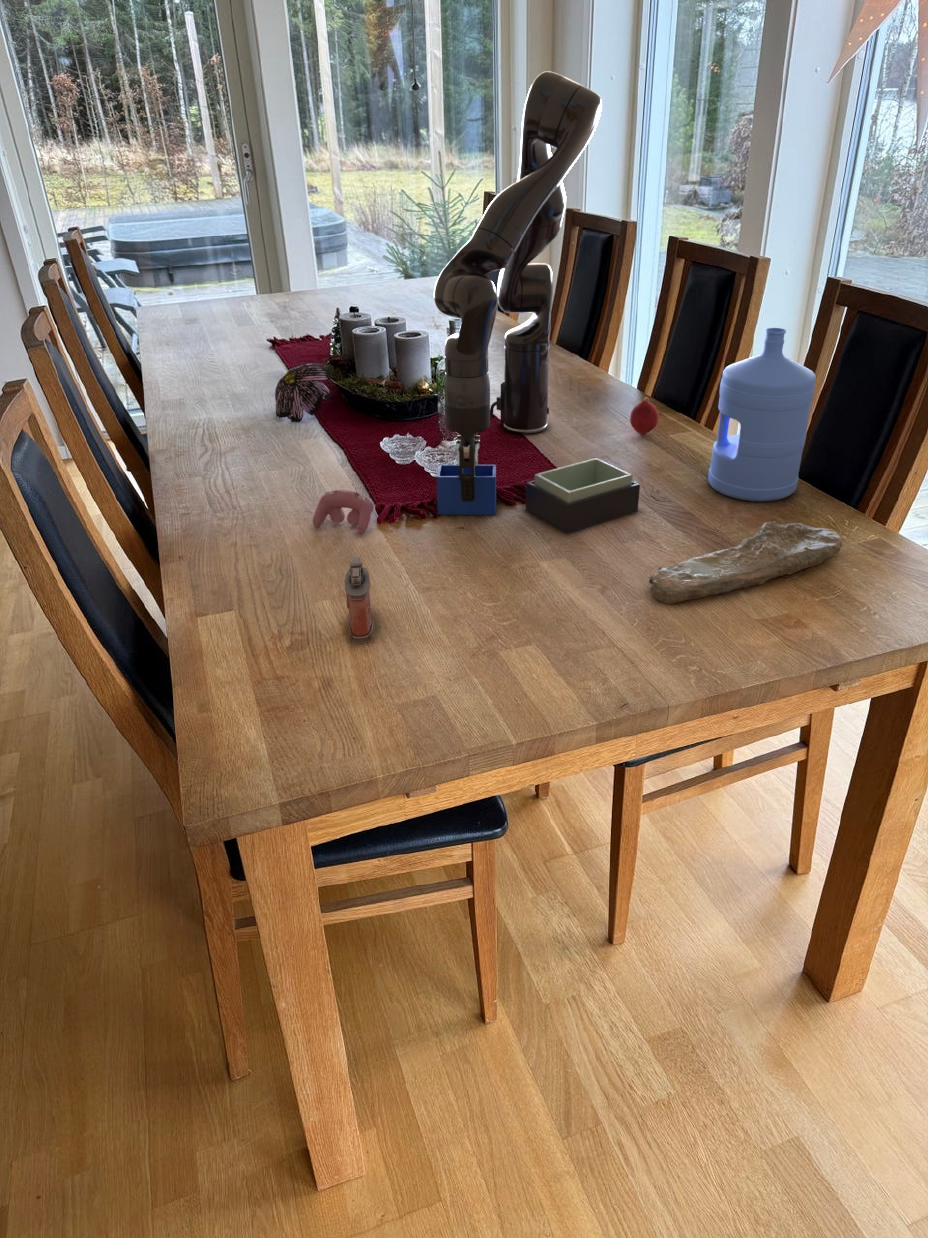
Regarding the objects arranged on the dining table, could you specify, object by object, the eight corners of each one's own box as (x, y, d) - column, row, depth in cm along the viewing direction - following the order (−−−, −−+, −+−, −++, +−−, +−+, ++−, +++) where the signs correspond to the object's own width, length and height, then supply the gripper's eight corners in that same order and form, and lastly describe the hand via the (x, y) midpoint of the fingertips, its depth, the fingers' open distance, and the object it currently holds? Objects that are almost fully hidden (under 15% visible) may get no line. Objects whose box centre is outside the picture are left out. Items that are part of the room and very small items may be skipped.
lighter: (350, 613, 128) (343, 550, 123) (373, 611, 128) (368, 549, 123) (348, 643, 121) (341, 578, 116) (373, 642, 121) (368, 577, 116)
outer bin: (566, 534, 148) (567, 505, 146) (525, 510, 157) (526, 482, 154) (637, 511, 155) (640, 484, 153) (595, 489, 164) (596, 463, 161)
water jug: (801, 476, 167) (830, 323, 152) (789, 509, 155) (820, 345, 140) (716, 465, 173) (737, 315, 158) (699, 495, 161) (719, 336, 146)
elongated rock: (631, 592, 134) (672, 625, 127) (633, 562, 131) (676, 595, 124) (808, 531, 146) (855, 559, 139) (814, 502, 143) (863, 529, 136)
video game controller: (373, 535, 153) (378, 494, 152) (362, 534, 148) (367, 492, 148) (321, 527, 156) (326, 487, 155) (309, 527, 151) (314, 485, 150)
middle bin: (567, 527, 149) (569, 492, 146) (533, 507, 156) (534, 474, 153) (629, 508, 155) (632, 474, 152) (594, 489, 162) (596, 457, 159)
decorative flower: (252, 368, 201) (312, 341, 203) (269, 408, 210) (327, 382, 212) (272, 403, 192) (335, 374, 194) (289, 443, 201) (349, 415, 203)
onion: (656, 440, 185) (660, 402, 181) (628, 439, 186) (631, 401, 182) (656, 431, 190) (660, 393, 185) (629, 429, 191) (632, 392, 186)
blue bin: (437, 514, 156) (436, 477, 152) (440, 501, 161) (439, 464, 157) (495, 514, 155) (495, 477, 152) (496, 501, 160) (496, 464, 157)
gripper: (489, 412, 141) (489, 507, 150) (490, 386, 154) (491, 475, 162) (441, 413, 142) (445, 507, 150) (447, 386, 154) (449, 475, 162)
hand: (469, 490), depth 156 cm, fingers open, 8 cm apart
